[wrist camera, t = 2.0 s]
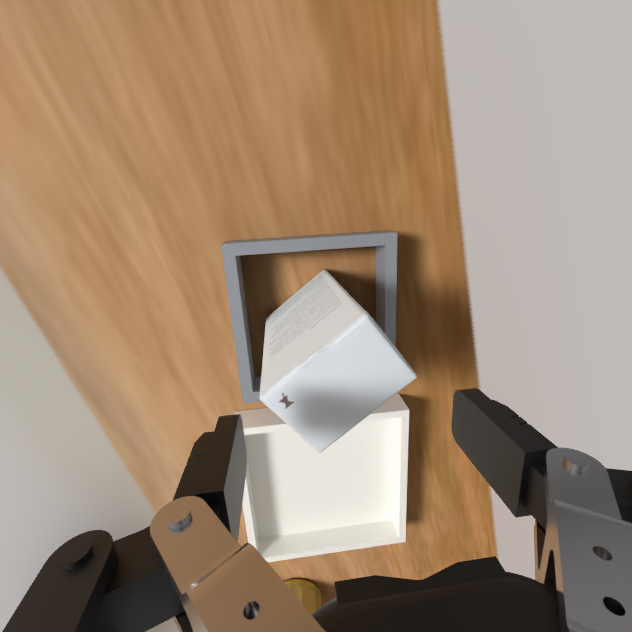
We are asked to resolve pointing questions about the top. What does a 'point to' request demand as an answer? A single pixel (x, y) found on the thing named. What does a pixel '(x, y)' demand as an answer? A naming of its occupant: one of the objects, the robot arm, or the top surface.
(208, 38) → the top surface
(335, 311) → the skincare box
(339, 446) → the tray
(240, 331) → the frame
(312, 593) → the vase
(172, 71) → the top surface
